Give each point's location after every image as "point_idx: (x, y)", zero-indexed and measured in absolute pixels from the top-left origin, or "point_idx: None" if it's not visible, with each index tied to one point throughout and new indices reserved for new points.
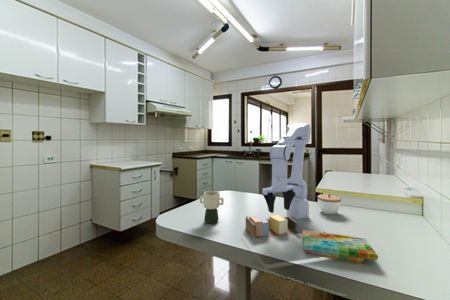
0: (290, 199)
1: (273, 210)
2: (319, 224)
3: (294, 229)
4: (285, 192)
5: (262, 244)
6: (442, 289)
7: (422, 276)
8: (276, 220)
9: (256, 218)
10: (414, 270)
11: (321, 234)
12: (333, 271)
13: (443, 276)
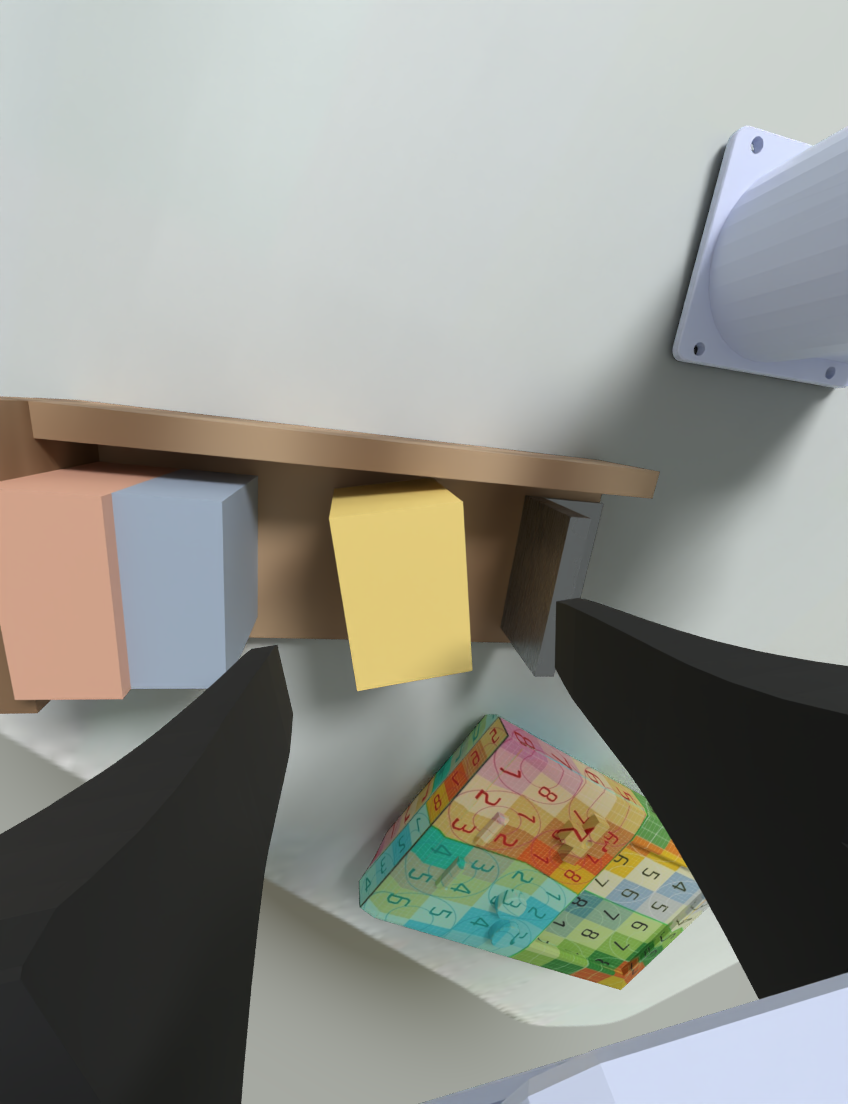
0: (688, 840)
1: (283, 752)
2: (803, 506)
3: (510, 621)
4: (836, 866)
5: (159, 693)
6: (639, 1009)
7: (665, 967)
8: (350, 645)
9: (71, 594)
10: (683, 945)
11: (563, 838)
12: (403, 939)
13: (719, 969)
